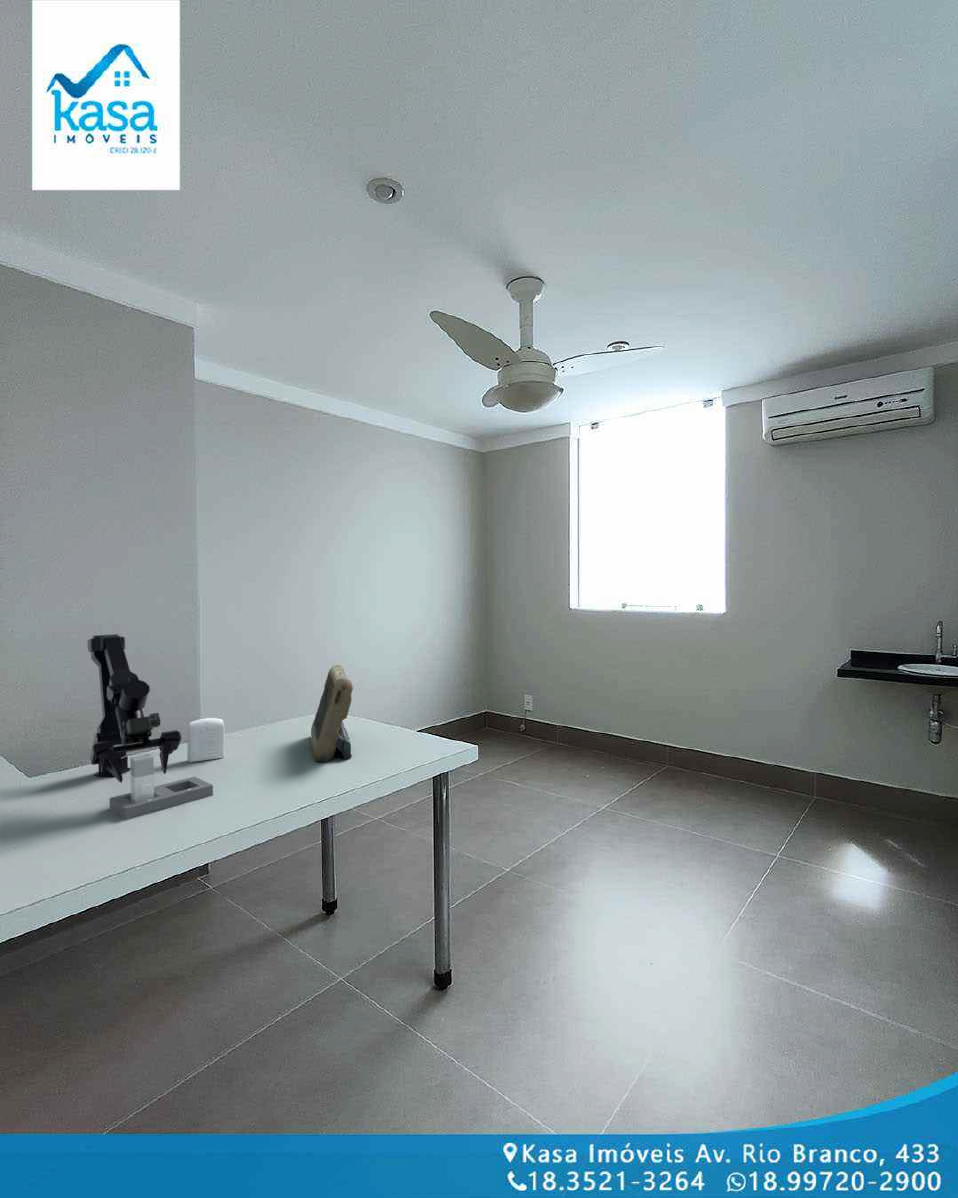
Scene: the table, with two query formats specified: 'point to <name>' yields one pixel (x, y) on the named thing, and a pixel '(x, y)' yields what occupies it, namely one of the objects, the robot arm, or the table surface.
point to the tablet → (332, 717)
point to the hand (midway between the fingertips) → (143, 777)
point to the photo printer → (205, 739)
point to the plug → (142, 778)
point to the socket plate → (162, 797)
